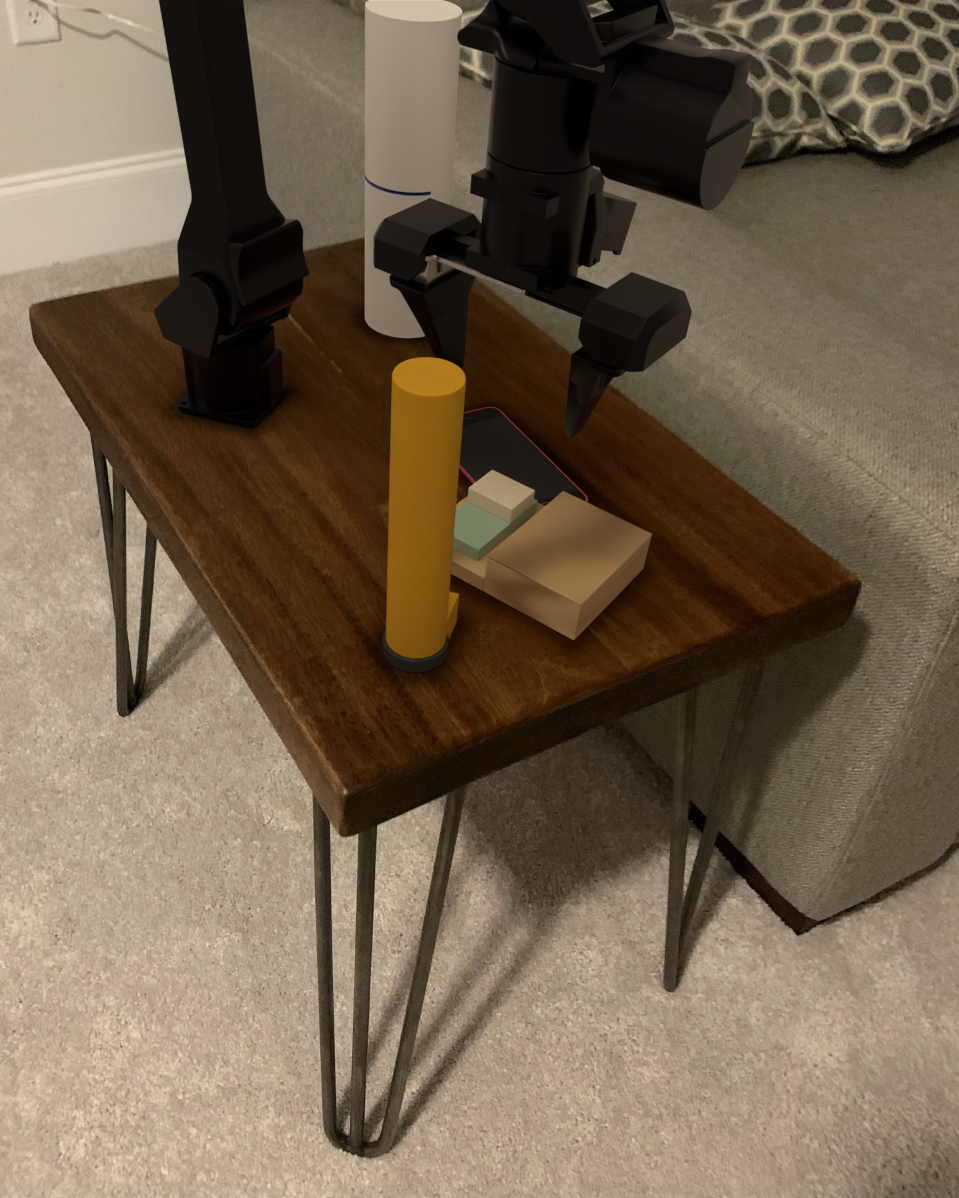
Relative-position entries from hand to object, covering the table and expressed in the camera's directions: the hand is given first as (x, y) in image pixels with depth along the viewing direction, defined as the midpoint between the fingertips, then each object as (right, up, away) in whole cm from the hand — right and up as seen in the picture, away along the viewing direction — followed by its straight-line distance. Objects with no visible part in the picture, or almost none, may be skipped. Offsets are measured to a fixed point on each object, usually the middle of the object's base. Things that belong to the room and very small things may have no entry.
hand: (512, 406), depth 65 cm
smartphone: (0, -2, +13) cm, 13 cm away
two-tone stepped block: (-2, -7, +5) cm, 9 cm away
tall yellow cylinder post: (-6, -15, -2) cm, 17 cm away
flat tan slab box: (+1, -10, +4) cm, 11 cm away
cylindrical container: (-9, +13, +28) cm, 32 cm away
